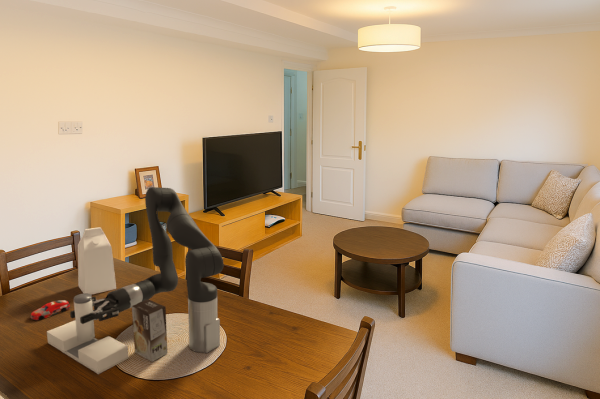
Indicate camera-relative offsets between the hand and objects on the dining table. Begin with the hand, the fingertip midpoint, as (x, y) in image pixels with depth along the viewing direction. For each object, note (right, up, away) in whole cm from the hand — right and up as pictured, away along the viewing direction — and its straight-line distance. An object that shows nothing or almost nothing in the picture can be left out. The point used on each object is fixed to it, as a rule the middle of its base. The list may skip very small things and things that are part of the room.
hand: (76, 318), depth 131 cm
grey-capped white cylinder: (+1, -7, +4) cm, 8 cm away
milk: (-17, -1, +50) cm, 53 cm away
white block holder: (+1, -12, +5) cm, 12 cm away
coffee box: (+21, -12, +5) cm, 25 cm away
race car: (-24, -6, +27) cm, 37 cm away
